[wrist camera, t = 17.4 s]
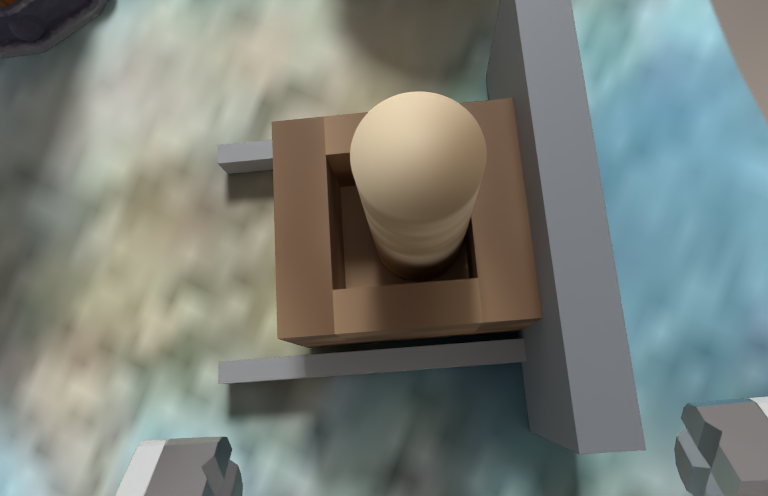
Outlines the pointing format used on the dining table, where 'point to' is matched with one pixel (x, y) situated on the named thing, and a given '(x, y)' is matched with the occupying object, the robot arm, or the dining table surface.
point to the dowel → (418, 180)
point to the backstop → (550, 246)
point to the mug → (42, 23)
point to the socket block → (359, 255)
